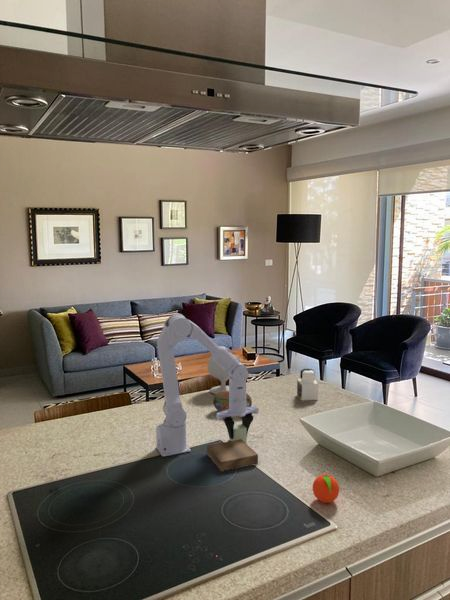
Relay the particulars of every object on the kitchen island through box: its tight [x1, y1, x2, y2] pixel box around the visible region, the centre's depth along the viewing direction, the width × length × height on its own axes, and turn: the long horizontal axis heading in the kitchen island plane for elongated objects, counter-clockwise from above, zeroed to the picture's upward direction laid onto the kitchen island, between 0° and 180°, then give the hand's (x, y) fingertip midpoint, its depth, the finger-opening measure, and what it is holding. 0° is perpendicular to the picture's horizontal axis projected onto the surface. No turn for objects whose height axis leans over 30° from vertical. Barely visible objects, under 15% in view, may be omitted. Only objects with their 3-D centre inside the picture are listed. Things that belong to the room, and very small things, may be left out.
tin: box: [212, 391, 253, 412], centre depth 193 cm, size 15×3×8 cm, turn 75°
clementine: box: [312, 473, 340, 504], centre depth 130 cm, size 8×7×7 cm
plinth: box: [206, 439, 259, 472], centre depth 154 cm, size 12×12×3 cm
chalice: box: [206, 356, 231, 395], centre depth 217 cm, size 14×14×15 cm
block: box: [228, 422, 248, 443], centre depth 167 cm, size 4×4×5 cm
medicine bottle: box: [296, 368, 319, 402], centre depth 208 cm, size 7×7×12 cm
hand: (237, 436), depth 167 cm, fingers closed on block, 4 cm apart
